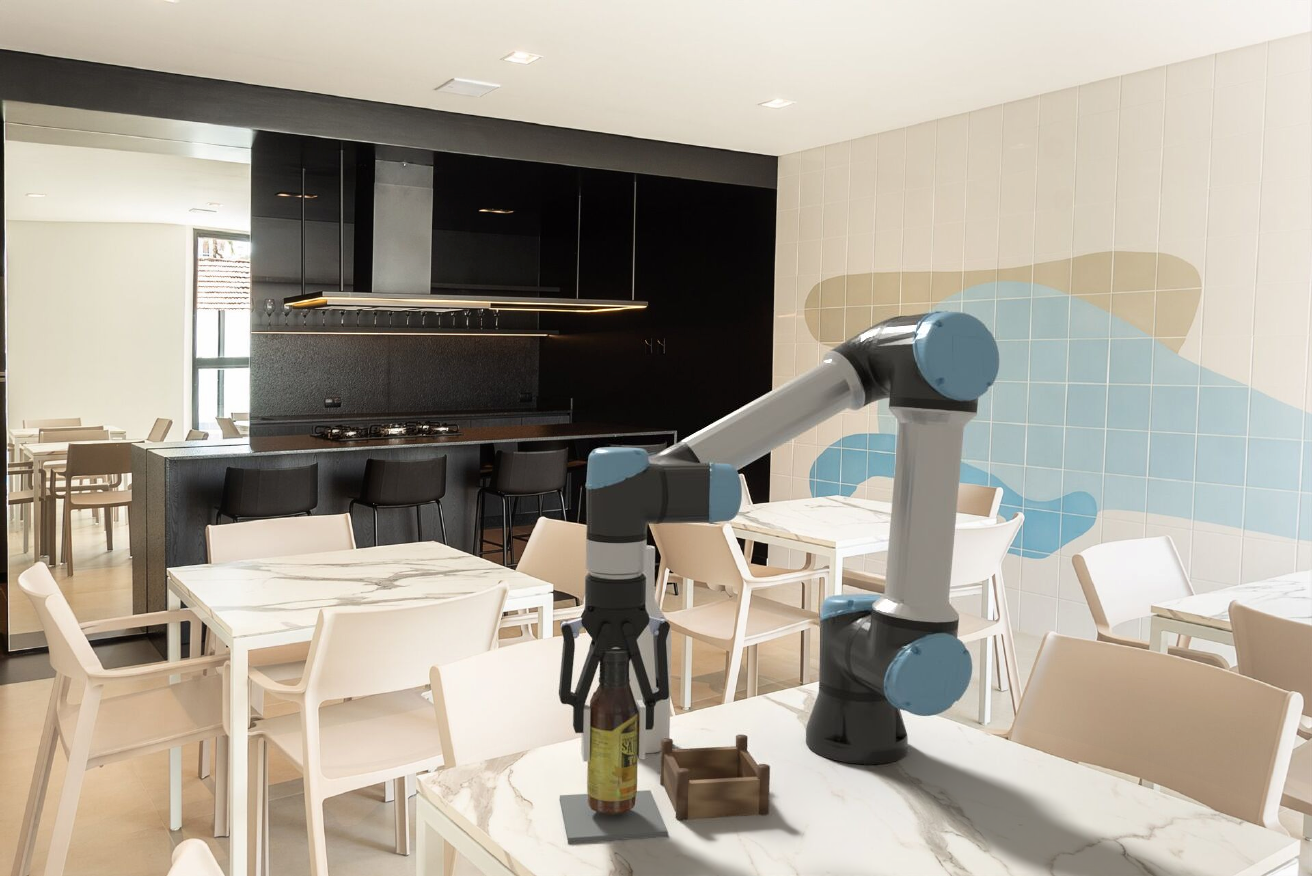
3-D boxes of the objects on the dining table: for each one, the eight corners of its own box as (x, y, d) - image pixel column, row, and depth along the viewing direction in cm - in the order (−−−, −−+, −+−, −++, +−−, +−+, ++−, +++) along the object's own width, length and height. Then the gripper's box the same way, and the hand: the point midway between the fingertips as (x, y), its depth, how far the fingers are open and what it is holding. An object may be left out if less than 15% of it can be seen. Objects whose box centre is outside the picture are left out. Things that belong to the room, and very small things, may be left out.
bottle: (675, 752, 144) (679, 550, 143) (621, 755, 142) (625, 552, 141) (662, 732, 152) (666, 541, 150) (611, 736, 150) (614, 542, 149)
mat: (650, 794, 129) (650, 790, 129) (667, 836, 118) (667, 831, 118) (559, 799, 127) (559, 795, 127) (567, 842, 115) (568, 837, 115)
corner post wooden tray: (744, 776, 136) (745, 734, 135) (770, 814, 124) (771, 768, 124) (659, 781, 134) (660, 738, 133) (677, 820, 122) (677, 773, 121)
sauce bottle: (630, 819, 118) (632, 658, 117) (580, 814, 120) (582, 654, 119) (642, 797, 125) (644, 644, 124) (594, 792, 126) (596, 640, 125)
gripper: (685, 565, 126) (681, 741, 127) (535, 568, 123) (534, 748, 124) (698, 577, 119) (694, 763, 120) (539, 580, 115) (537, 771, 116)
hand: (613, 755), depth 122 cm, fingers closed on sauce bottle, 6 cm apart
